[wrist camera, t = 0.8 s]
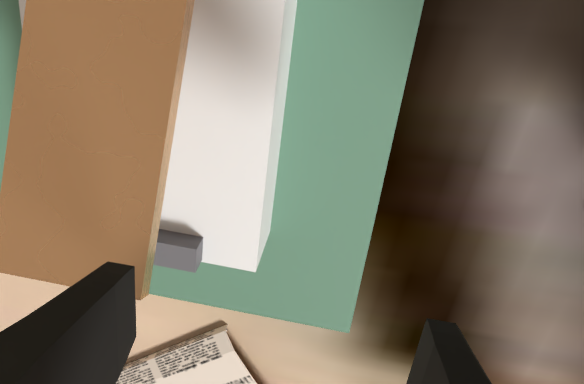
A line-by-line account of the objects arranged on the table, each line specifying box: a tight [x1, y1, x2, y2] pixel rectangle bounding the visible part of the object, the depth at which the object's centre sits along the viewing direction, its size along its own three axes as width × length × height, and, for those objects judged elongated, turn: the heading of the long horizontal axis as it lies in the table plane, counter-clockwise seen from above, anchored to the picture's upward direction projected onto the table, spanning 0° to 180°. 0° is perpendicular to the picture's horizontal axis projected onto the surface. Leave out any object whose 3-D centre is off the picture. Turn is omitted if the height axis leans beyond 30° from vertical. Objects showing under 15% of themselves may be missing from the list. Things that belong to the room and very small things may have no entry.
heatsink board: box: [0, 0, 424, 333], centre depth 17 cm, size 16×26×5 cm, turn 173°
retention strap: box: [0, 0, 195, 300], centre depth 14 cm, size 4×12×1 cm, turn 173°
